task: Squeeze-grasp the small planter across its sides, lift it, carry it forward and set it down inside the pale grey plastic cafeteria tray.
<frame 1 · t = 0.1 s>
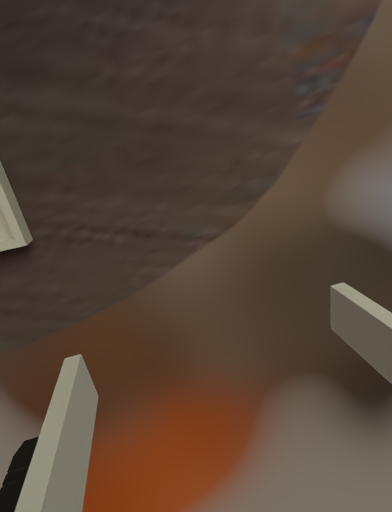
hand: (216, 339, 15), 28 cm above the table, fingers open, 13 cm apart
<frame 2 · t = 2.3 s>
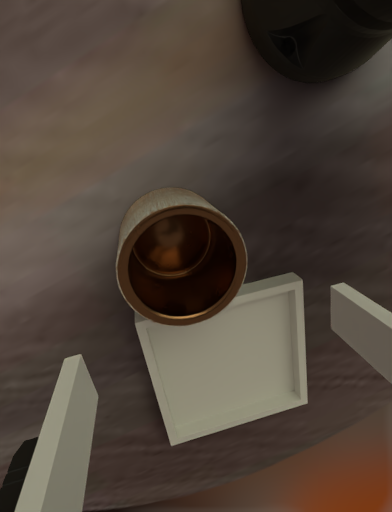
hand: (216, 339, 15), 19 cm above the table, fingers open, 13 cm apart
tray: (227, 356, 39), on the table
planter: (170, 236, 32), on the table
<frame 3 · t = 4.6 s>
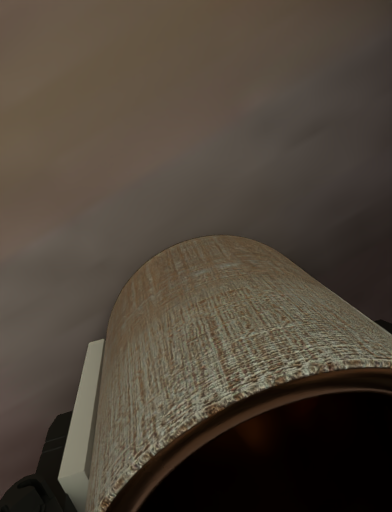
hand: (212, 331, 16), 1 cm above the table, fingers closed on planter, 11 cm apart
planter: (209, 323, 16), on the table, touching gripper
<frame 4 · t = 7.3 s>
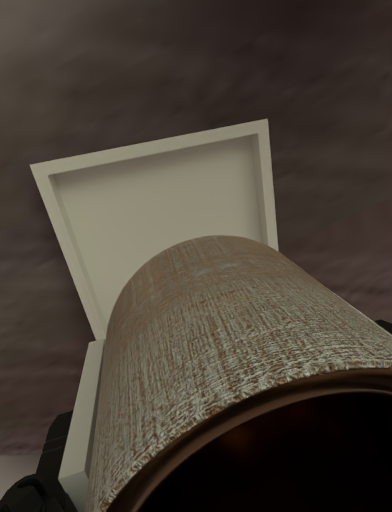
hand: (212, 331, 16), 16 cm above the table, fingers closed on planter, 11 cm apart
tray: (175, 244, 30), on the table
planter: (209, 323, 16), point 15 cm above the table, touching gripper
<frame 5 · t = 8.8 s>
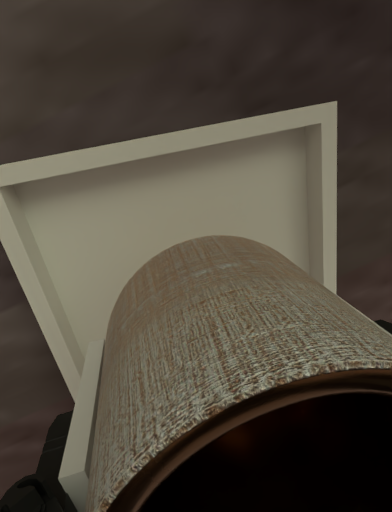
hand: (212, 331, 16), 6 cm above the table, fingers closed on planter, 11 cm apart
tray: (192, 279, 22), on the table
planter: (209, 324, 16), point 6 cm above the table, touching gripper
when the fingers open (3 cm above the table, at t = 10.0 s): planter drops 2 cm, resting on tray.
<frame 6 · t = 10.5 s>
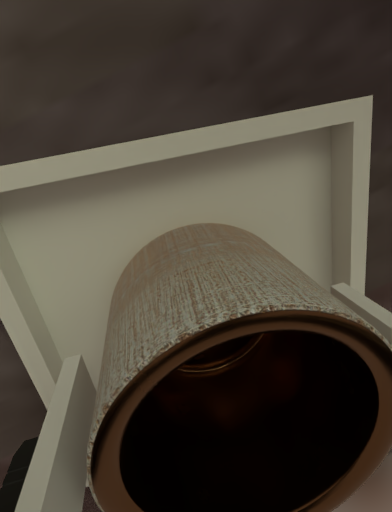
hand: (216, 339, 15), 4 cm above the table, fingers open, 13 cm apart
tray: (199, 300, 19), on the table
planter: (201, 303, 18), point 1 cm above the table, touching tray
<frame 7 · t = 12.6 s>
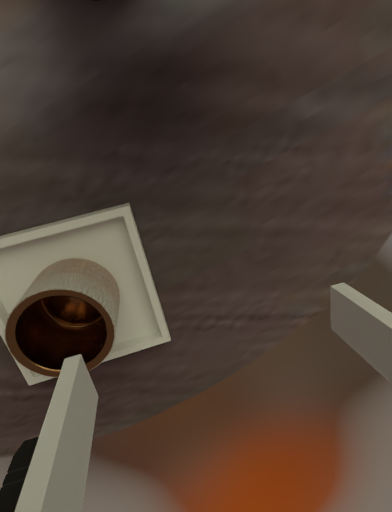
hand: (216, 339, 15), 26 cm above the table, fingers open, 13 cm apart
tray: (78, 293, 40), on the table
planter: (78, 294, 39), resting on tray
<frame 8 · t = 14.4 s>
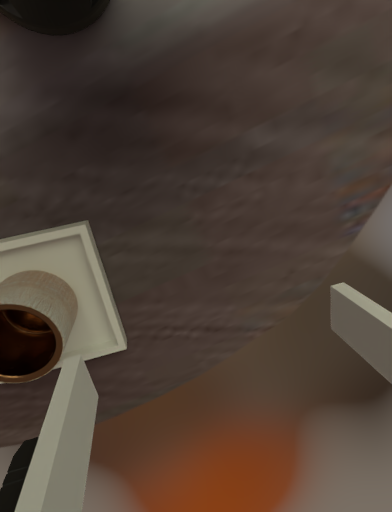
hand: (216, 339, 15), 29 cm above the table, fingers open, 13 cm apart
tray: (39, 302, 42), on the table
planter: (38, 303, 42), resting on tray
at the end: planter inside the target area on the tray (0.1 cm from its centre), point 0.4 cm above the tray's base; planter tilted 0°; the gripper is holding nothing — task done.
